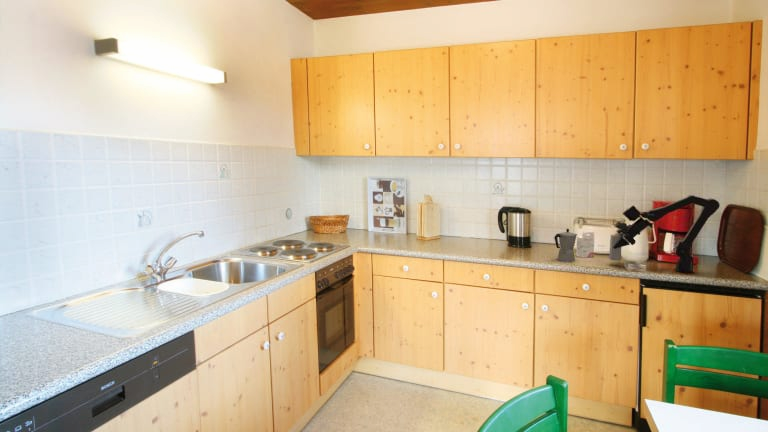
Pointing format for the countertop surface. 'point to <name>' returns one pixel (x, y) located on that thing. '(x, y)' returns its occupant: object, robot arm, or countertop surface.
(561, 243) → the coffeepot
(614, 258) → the block
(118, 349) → the countertop surface
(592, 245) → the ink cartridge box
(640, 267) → the rail dock
